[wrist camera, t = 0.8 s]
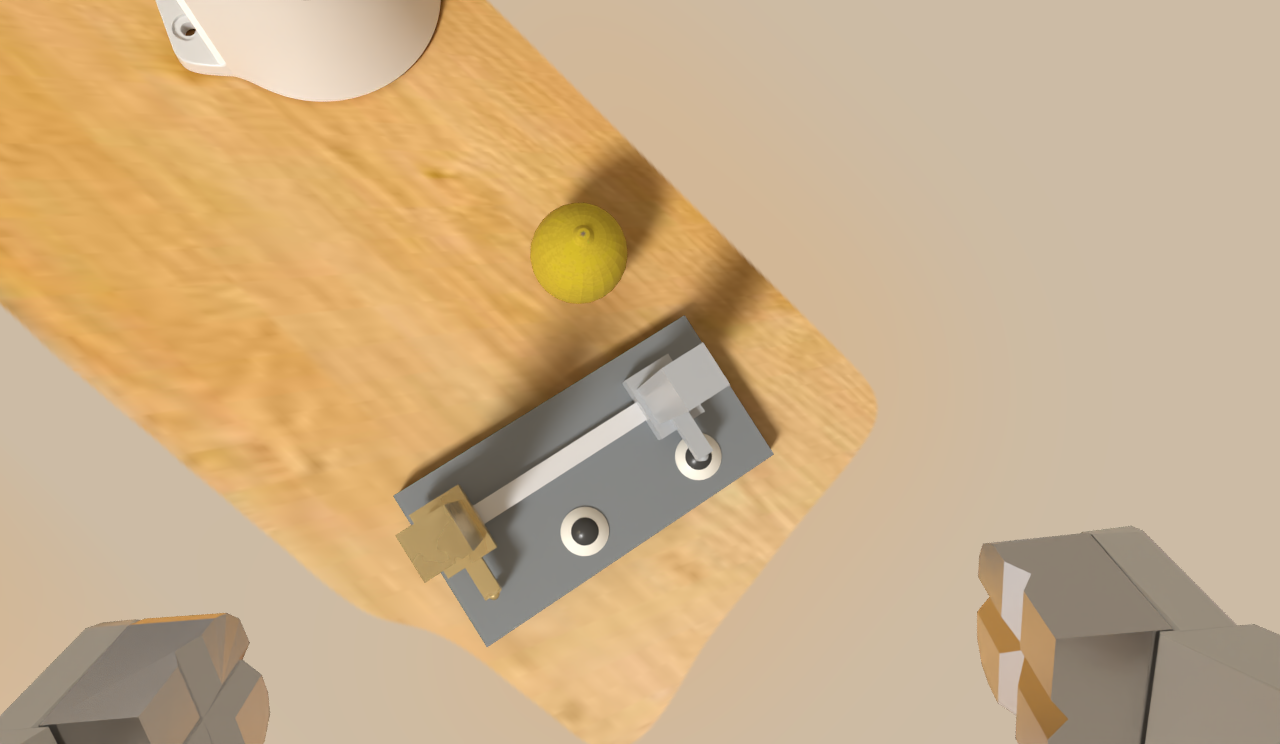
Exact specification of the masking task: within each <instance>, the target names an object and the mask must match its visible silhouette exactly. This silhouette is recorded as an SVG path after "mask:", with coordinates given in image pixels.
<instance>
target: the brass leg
mask: <svg viewBox="0 0 1280 744" xmlns="http://www.w3.org/2000/svg"><path fill="white" fill-rule="evenodd" d="M409 516H410V518H411V520H412V521H413V523H414V524H413V525H411V526H409V527H408V528H406V529H405V530H403V531H401V532H400V533H398V534H397V535H395V536H396V537H397V539H398V541H399V542H400V544H401V545H402V547H403V549H404V550H405V552H406V554H407V555H408V557H409V558H410V560H411V562H412V563H413V565H414V567H415V568H416V570H417V571H418V573H419V575H420V576H421V578H422V579H423V581H424V583H425V582H427V581H429V580H430V579H432V578H433V577H435V576H436V575H438V574H439V573H441V572H443V571H444V573H445V575H446V576H447V578H448V579H449V578H450V577H452V576H453V575H455V574H457V573H458V572H460V571H461V570H463V569H464V568H466V570H467V572H468V573H469V575H470V577H471V578H472V580H473V581H474V583H475V585H476V586H477V588H478V589H479V591H480V593H481V594H482V596H483V597H484V599H485V601H486V600H488V599H489V598H490V599H491V600H496V599H498V598H499V595H500V591H501V590H502V588H501V586H500V584H499V583H498V581H497V579H496V578H495V576H494V575H493V573H492V571H491V570H490V568H489V567H488V565H487V563H486V562H485V560H484V559H483V556H484V555H486V554H487V553H489V552H490V551H492V550H494V549H495V548H497V546H498V545H497V543H496V542H495V540H494V539H493V537H492V535H491V534H490V532H489V531H488V529H487V527H486V526H485V524H484V522H483V521H482V519H481V518H480V516H479V514H478V513H477V511H476V510H475V508H474V506H473V505H472V503H471V502H470V500H469V498H468V497H467V495H466V494H465V492H464V490H463V489H462V487H461V486H460V485H456V486H455V487H453V488H451V489H450V490H448V491H447V492H445V493H444V494H442V495H440V496H439V497H437V498H436V499H434V500H432V501H431V502H429V503H428V504H426V505H424V506H423V507H421V508H420V509H418V510H416V511H415V512H413V513H412V514H410V515H409Z"/></svg>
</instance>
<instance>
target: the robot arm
mask: <svg viewBox="0 0 1280 744" xmlns="http://www.w3.org/2000/svg"><path fill="white" fill-rule="evenodd" d="M156 3H157V6H158V9H159V11H160V14H161V17H162V20H163V22H164V25H165V28H166V31H167V34H168V36H169V39H170V42H171V45H172V47H173V50H174V52H175V54H176V56H177V57H178V59H179V61H180V63H181V64H182V65H183V66H184V67H185V68H187V69H188V70H190V71H193V72H196V73H201V74H208V75H219V76H235V77H239V78H242V79H245V80H247V81H250V82H252V83H254V84H256V85H258V86H260V87H263V88H265V89H267V90H269V91H272V92H274V93H277V94H280V95H283V96H286V97H290V98H294V99H300V100H307V101H339V100H346V99H351V98H355V97H359V96H362V95H365V94H368V93H371V92H373V91H376V90H378V89H380V88H382V87H384V86H386V85H387V84H389V83H391V82H392V81H394V80H395V79H397V78H398V77H400V76H401V75H402V74H403V73H405V72H406V71H407V70H408V69H409V68H410V67H411V66H412V65H413V64H414V63H415V62H416V61H417V59H418V58H419V57H420V56H421V54H422V53H423V51H424V50H425V48H426V47H427V45H428V43H429V42H430V40H431V37H432V35H433V33H434V30H435V28H436V24H437V21H438V17H439V12H440V4H441V0H156ZM190 29H196V32H195V33H194V34H193V35H191V36H185V34H186V32H187V31H188V30H190ZM978 577H979V579H980V581H981V583H982V584H983V586H984V588H985V590H986V591H987V593H988V595H989V596H990V597H989V598H988V599H987V601H986V602H985V603H984V604H983V605H982V607H981V608H980V609H979V611H978V612H977V639H978V645H979V651H980V657H981V663H982V667H983V669H984V672H985V675H986V678H987V681H988V684H989V686H990V688H991V690H992V692H993V694H994V696H995V698H996V701H997V702H998V704H1000V705H1001V706H1003V707H1004V708H1006V709H1007V710H1009V711H1011V712H1012V713H1014V714H1016V737H1015V738H1016V740H1017V742H1018V743H1019V744H1280V635H1279V634H1276V633H1274V632H1272V631H1269V630H1267V629H1264V628H1262V627H1260V626H1257V625H1255V624H1252V625H1238V626H1237V625H1236V624H1235V623H1234V622H1233V621H1232V620H1231V619H1230V618H1229V617H1228V616H1227V615H1226V614H1225V613H1224V612H1223V611H1222V610H1221V609H1220V608H1219V607H1218V605H1217V604H1216V603H1214V601H1212V600H1211V599H1210V598H1209V597H1208V595H1207V594H1206V593H1204V591H1203V590H1202V589H1200V587H1199V586H1198V585H1197V584H1195V582H1194V581H1193V580H1192V579H1191V578H1190V577H1189V576H1188V575H1187V574H1186V573H1185V572H1184V571H1183V570H1182V569H1181V568H1180V567H1179V566H1178V565H1177V564H1176V563H1175V562H1174V561H1173V560H1172V559H1171V558H1170V557H1169V556H1168V555H1167V554H1166V553H1165V552H1164V551H1163V550H1162V549H1161V548H1160V547H1159V546H1158V545H1157V544H1156V543H1155V542H1154V541H1153V540H1152V539H1151V538H1150V537H1149V536H1148V535H1147V534H1146V533H1145V532H1144V531H1142V530H1140V529H1138V528H1135V527H1133V526H1128V527H1119V528H1111V529H1103V530H1095V531H1087V532H1082V533H1081V534H1071V535H1061V536H1052V537H1043V538H1033V539H1023V540H1014V541H1005V542H995V543H985V544H983V546H982V549H981V552H980V556H979V571H978ZM249 643H250V642H249V640H248V638H247V635H246V633H245V631H244V628H243V626H242V624H241V621H240V619H239V618H236V617H234V616H232V615H230V614H228V613H219V614H205V615H190V616H176V617H162V618H148V619H143V620H125V621H114V622H103V623H100V624H97V625H94V626H91V627H88V628H86V629H85V630H84V631H83V632H82V633H81V634H80V635H79V636H78V637H77V638H76V639H75V640H74V641H73V642H72V643H71V644H70V645H69V646H68V647H67V648H66V649H65V650H64V651H63V652H62V653H61V654H60V655H59V656H58V657H57V658H56V659H55V660H54V661H53V662H52V663H51V664H50V666H49V667H47V668H46V670H45V671H44V672H43V673H42V674H41V675H40V676H39V677H38V678H37V679H36V680H35V681H34V682H33V683H32V684H31V685H30V686H29V687H28V688H27V689H26V690H25V691H24V692H23V693H22V694H21V695H20V696H19V697H18V698H17V699H16V700H15V701H14V702H13V703H12V704H11V705H10V706H9V707H8V708H7V709H6V710H5V711H4V712H3V713H2V715H1V716H0V744H263V743H264V741H265V736H266V732H267V727H268V721H269V716H270V708H269V698H268V691H267V688H266V686H265V683H264V680H263V677H262V675H261V674H260V673H259V672H258V671H256V670H255V669H254V668H252V667H251V666H250V665H248V664H247V663H246V662H245V661H243V657H244V655H245V652H246V650H247V648H248V645H249Z"/></svg>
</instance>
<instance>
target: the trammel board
mask: <svg viewBox="0 0 1280 744" xmlns="http://www.w3.org/2000/svg"><path fill="white" fill-rule="evenodd" d="M772 455H774V454H773V452H772V451H771V449H770V447H769V446H768V444H767V443H766V441H765V440H764V438H763V437H762V435H761V433H760V432H759V430H758V429H757V427H756V426H755V424H754V423H753V421H752V419H751V418H750V416H749V415H748V413H747V412H746V410H745V409H744V407H743V405H742V404H741V402H740V401H739V399H738V398H737V396H736V395H735V393H734V391H733V390H732V388H731V387H730V383H729V382H728V380H727V379H726V377H725V376H724V374H723V372H722V371H721V369H720V368H719V366H718V365H717V363H716V362H715V360H714V358H713V357H712V355H711V354H710V352H709V351H708V349H707V348H706V346H705V344H704V343H702V342H701V340H700V338H699V337H698V335H697V334H696V332H695V331H694V329H693V328H692V326H691V324H690V323H689V321H688V320H687V318H686V317H685V315H684V316H683V317H681V318H679V319H678V320H676V321H675V322H673V323H671V324H670V325H668V326H666V327H665V328H663V329H662V330H660V331H658V332H657V333H655V334H654V335H652V336H650V337H649V338H647V339H646V340H644V341H642V342H641V343H639V344H637V345H636V346H634V347H633V348H631V349H629V350H628V351H626V352H625V353H623V354H621V355H620V356H618V357H616V358H615V359H613V360H612V361H610V362H608V363H607V364H605V365H604V366H602V367H600V368H599V369H597V370H596V371H594V372H592V373H591V374H589V375H587V376H586V377H584V378H583V379H581V380H579V381H578V382H576V383H575V384H573V385H571V386H570V387H568V388H566V389H565V390H563V391H562V392H560V393H558V394H557V395H555V396H554V397H552V398H550V399H549V400H547V401H546V402H544V403H542V404H541V405H539V406H537V407H536V408H534V409H533V410H531V411H529V412H528V413H526V414H525V415H523V416H521V417H520V418H518V419H516V420H515V421H513V422H512V423H510V424H508V425H507V426H505V427H504V428H502V429H500V430H499V431H497V432H495V433H494V434H492V435H491V436H489V437H487V438H486V439H484V440H483V441H481V442H479V443H478V444H476V445H475V446H473V447H471V448H470V449H468V450H466V451H465V452H463V453H462V454H460V455H458V456H457V457H455V458H454V459H452V460H450V461H449V462H447V463H445V464H444V465H442V466H441V467H439V468H437V469H436V470H434V471H433V472H431V473H429V474H428V475H426V476H425V477H423V478H421V479H420V480H418V481H416V482H415V483H413V484H412V485H410V486H408V487H407V488H405V489H404V490H402V491H400V492H399V493H397V494H395V495H394V498H395V500H396V501H397V503H398V504H399V506H400V508H401V509H402V511H403V513H404V514H405V516H406V517H407V519H408V521H409V522H410V524H411V525H413V524H414V523H413V521H412V520H411V518H410V516H409V515H410V514H412V513H413V512H415V511H416V510H418V509H420V508H421V507H423V506H424V505H426V504H428V503H429V502H431V501H432V500H434V499H436V498H437V497H439V496H440V495H442V494H444V493H445V492H447V491H448V490H450V489H451V488H453V487H455V486H456V485H460V486H461V487H462V489H463V490H464V492H465V494H466V495H467V497H468V498H469V500H470V502H471V503H472V505H473V506H474V508H475V510H476V511H477V513H478V514H479V516H480V518H481V519H482V521H483V522H484V524H485V526H486V527H487V529H488V531H489V532H490V534H491V535H492V537H493V539H494V540H495V542H496V543H497V545H498V546H497V548H495V549H494V550H492V551H490V552H489V553H487V554H486V555H484V556H483V559H484V560H485V562H486V563H487V565H488V567H489V568H490V570H491V571H492V573H493V575H494V576H495V578H496V579H497V581H498V583H499V584H500V586H501V588H502V590H501V591H500V595H499V598H498V599H496V600H491V599H490V598H489V599H488V600H486V601H485V599H484V597H483V596H482V594H481V593H480V591H479V589H478V588H477V586H476V585H475V583H474V581H473V580H472V578H471V577H470V575H469V573H468V572H467V570H466V568H464V569H463V570H461V571H460V572H458V573H457V574H455V575H453V576H452V577H450V578H449V579H448V578H447V576H446V575H445V573H444V571H443V572H441V574H442V576H443V577H444V579H445V580H446V582H447V584H448V585H449V587H450V588H451V590H452V592H453V593H454V595H455V596H456V598H457V600H458V601H459V603H460V605H461V606H462V608H463V609H464V611H465V613H466V614H467V616H468V617H469V619H470V621H471V622H472V624H473V626H474V627H475V629H476V630H477V632H478V634H479V635H480V637H481V638H482V640H483V642H484V643H485V645H486V647H488V646H490V645H491V644H493V643H494V642H496V641H497V640H499V639H500V638H502V637H503V636H505V635H506V634H508V633H509V632H511V631H512V630H514V629H515V628H517V627H518V626H519V625H521V624H522V623H524V622H525V621H527V620H528V619H530V618H531V617H533V616H534V615H536V614H537V613H539V612H540V611H542V610H543V609H545V608H546V607H548V606H549V605H551V604H552V603H554V602H555V601H557V600H558V599H560V598H561V597H563V596H564V595H566V594H567V593H569V592H570V591H572V590H573V589H574V588H576V587H577V586H579V585H580V584H582V583H583V582H585V581H586V580H588V579H589V578H591V577H592V576H594V575H595V574H597V573H598V572H600V571H601V570H603V569H604V568H606V567H607V566H609V565H610V564H612V563H613V562H615V561H616V560H618V559H619V558H621V557H622V556H624V555H625V554H627V553H628V552H629V551H631V550H632V549H634V548H635V547H637V546H638V545H640V544H641V543H643V542H644V541H646V540H647V539H649V538H650V537H652V536H653V535H655V534H656V533H658V532H659V531H661V530H662V529H664V528H665V527H667V526H668V525H670V524H671V523H673V522H674V521H676V520H677V519H679V518H680V517H682V516H683V515H684V514H686V513H687V512H689V511H690V510H692V509H693V508H695V507H696V506H698V505H699V504H701V503H702V502H704V501H705V500H707V499H708V498H710V497H711V496H713V495H714V494H716V493H717V492H719V491H720V490H722V489H723V488H725V487H726V486H728V485H729V484H731V483H732V482H734V481H735V480H737V479H738V478H739V477H741V476H742V475H744V474H745V473H747V472H748V471H750V470H751V469H753V468H754V467H756V466H757V465H759V464H760V463H762V462H763V461H765V460H766V459H768V458H769V457H771V456H772Z"/></svg>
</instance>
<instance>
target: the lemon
mask: <svg viewBox="0 0 1280 744" xmlns="http://www.w3.org/2000/svg"><path fill="white" fill-rule="evenodd" d="M530 259H531V263H532V268H533V272H534V274H535V276H536V278H537V280H538V282H539V283H540V284H541V285H542V287H543V288H544V289H545V290H546V291H547V292H548V293H550V294H551V295H552V296H554V297H555V298H557V299H559V300H562V301H565V302H567V303H575V304H582V303H590V302H593V301H595V300H598V299H600V298H602V297H604V296H605V295H606V294H608V293H609V292H611V291H612V290H613V289H614V287H615V286H616V285H617V284H618V282H619V281H620V279H621V277H622V275H623V273H624V270H625V268H626V262H627V244H626V239H625V237H624V234H623V231H622V229H621V227H620V226H619V224H618V223H617V221H616V220H615V219H614V218H613V217H612V216H611V215H610V214H609V213H608V212H606V211H605V210H603V209H601V208H599V207H598V206H595V205H591V204H588V203H572V204H568V205H563V206H561V207H559V208H557V209H555V210H554V211H552V212H551V213H550V214H549V215H547V216H546V217H545V218H544V219H543V220H542V222H541V223H540V225H539V226H538V228H537V229H536V231H535V233H534V237H533V240H532V243H531V254H530Z"/></svg>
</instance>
